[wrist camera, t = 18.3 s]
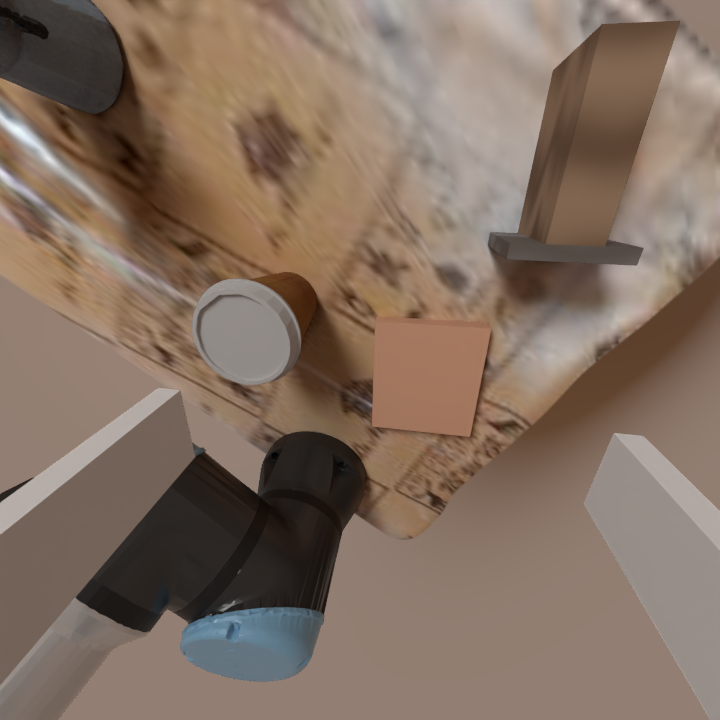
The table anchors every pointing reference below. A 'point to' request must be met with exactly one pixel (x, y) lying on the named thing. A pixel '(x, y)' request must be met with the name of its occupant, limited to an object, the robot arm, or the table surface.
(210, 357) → the disposable coffee cup
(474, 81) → the table surface
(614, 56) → the tan flared wedge
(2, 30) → the moka pot
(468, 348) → the tile
